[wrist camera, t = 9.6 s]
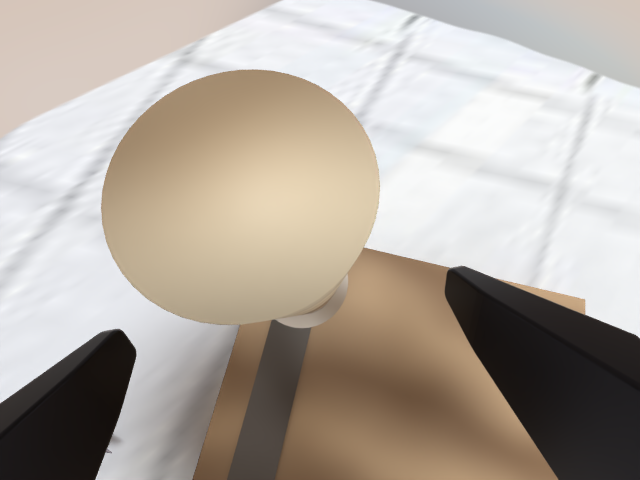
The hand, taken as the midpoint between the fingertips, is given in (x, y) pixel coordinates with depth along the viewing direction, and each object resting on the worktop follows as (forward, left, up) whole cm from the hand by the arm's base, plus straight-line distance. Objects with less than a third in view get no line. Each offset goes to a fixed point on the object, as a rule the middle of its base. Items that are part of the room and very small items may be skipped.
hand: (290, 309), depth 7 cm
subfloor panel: (-4, -6, -11) cm, 13 cm away
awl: (+2, +1, -9) cm, 9 cm away
